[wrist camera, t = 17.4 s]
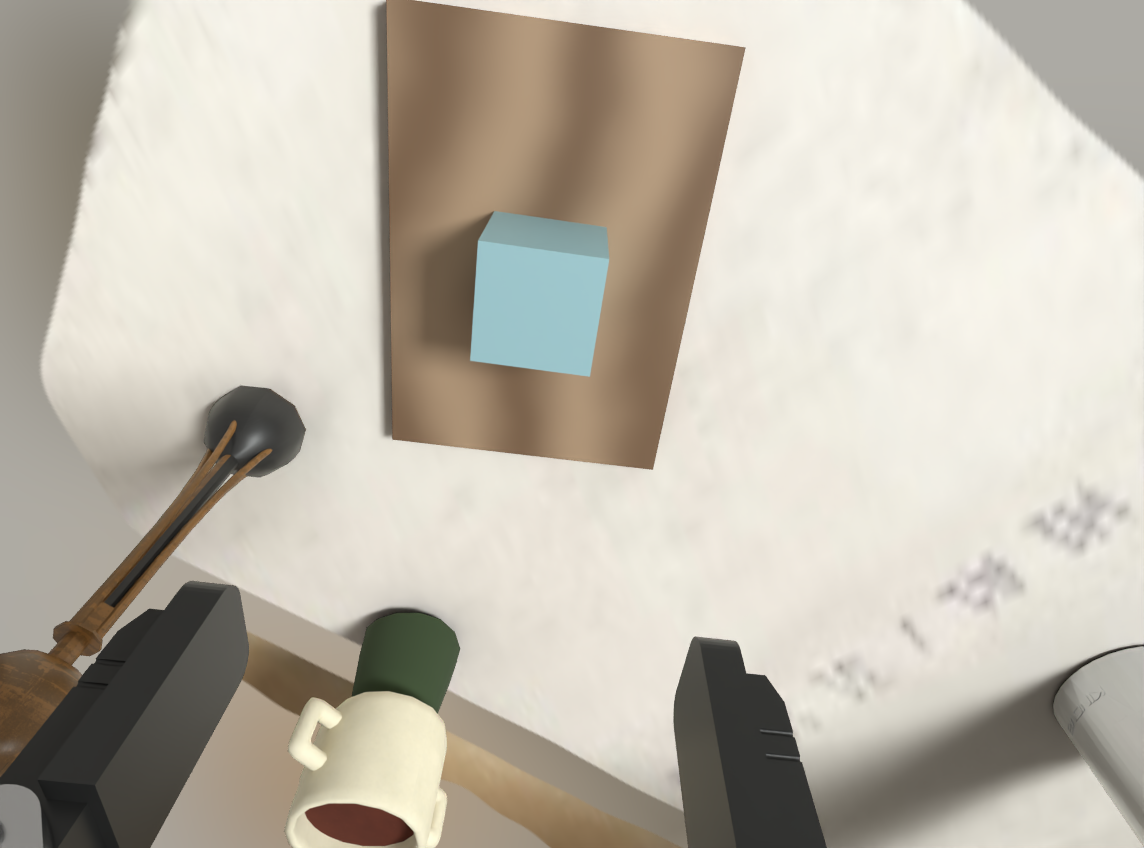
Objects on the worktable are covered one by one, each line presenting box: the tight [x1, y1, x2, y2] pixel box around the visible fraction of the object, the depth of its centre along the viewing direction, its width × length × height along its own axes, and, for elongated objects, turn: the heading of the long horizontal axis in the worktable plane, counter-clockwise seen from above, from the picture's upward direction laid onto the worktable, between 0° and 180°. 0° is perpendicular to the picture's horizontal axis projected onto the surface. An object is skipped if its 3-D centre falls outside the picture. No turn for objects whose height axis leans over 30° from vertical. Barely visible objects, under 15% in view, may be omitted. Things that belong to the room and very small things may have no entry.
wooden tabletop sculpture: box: [0, 386, 306, 777], centre depth 28 cm, size 6×5×20 cm
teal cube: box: [470, 211, 609, 377], centre depth 29 cm, size 5×5×5 cm
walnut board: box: [386, 0, 745, 470], centre depth 31 cm, size 14×20×1 cm
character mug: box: [284, 613, 460, 848], centre depth 39 cm, size 11×7×13 cm, turn 36°
